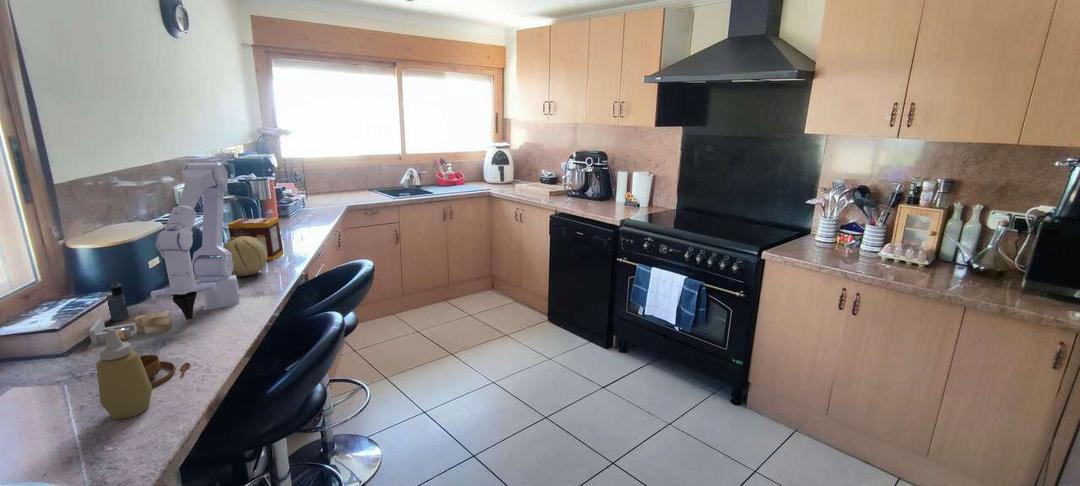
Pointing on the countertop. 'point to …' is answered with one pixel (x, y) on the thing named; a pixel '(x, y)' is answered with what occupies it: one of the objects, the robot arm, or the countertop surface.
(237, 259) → the cantaloupe
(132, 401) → the squeeze bottle
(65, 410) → the countertop surface
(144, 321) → the peg
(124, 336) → the plunger
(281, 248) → the supplement box
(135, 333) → the socket board
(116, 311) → the vaping device
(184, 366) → the place setting
